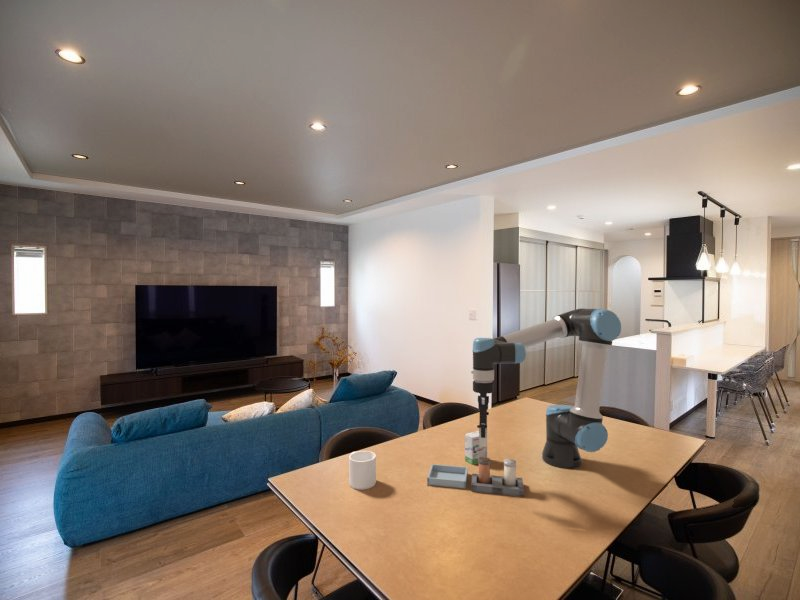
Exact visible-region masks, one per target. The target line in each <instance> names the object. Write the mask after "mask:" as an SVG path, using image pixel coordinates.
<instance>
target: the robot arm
mask: <svg viewBox="0 0 800 600" xmlns="http://www.w3.org/2000/svg"><path fill="white" fill-rule="evenodd" d="M621 333H622V323H621V320H620V317H618V316H617V314H616V313H615V312H614V311H612V310H609V309H605V308H576V309H573V310H570V311H566V312H563V313H560V314H558V315H555V316H553V317H552V319H550V320H547V321H545V322H542V323H541V322H540V323H538V324H535V325H532V326H527V327H525V328H522V329H519V330H516V331H513V332H510V333H507V334H503V335H500V336H497V337H494V338H492V337H476V338H474V339H473V342H472V371H471V372H470V373H471V374H472V379H473V381H472V392H474V393H475V394H476V393H477V394H479V395H477V403H478V404H477V405H478V409H477V410H479V423H478V425H476V428H478V431H479V446H483V447H487V448H488V416H489V414H490V413H489V411H488V410H489V403H490V396H489V395H487V394H492V393H494V392H495V382H494V381H495V365H499V364H501V365H504V364H505V365H506V364H508V365H509V364H514V365H515V364H521V363H523V362H524V361H525V360H526V357H527V356H526V355H527V353H526V352H527V351H526V348H529V347H533V346H536V345H538V344H541V343H544V342H549V341H551V340H554V339H557V338H560V339H565V338H568V337H578V342H579V344H580V345H581V353H580V354H581V355H580V361H579V370H578V377H577V385H576V392H575V393H576V394H575V400H574V405H569V404H552V405H548V406H547V407H546V412H545V417H546V418H545V419H546V420H545V422H546V423H545V424H546V427H545V428H546V429H545V430H546V433H545V434H546V435H545V437H546V439H545V440H546V441H545V443H544V446H543V450H542V454H541V458H542V461H543V462H544V463H546V464H548V465H550V466H554V467H558V468H563V469H574V468H578V467H580V466H581V465H582V457H581V454H580V451H579V450H582V451H585V452H588V453H596V452H597V451H600V450H601V449H603V447H605V445H606V444H607V441H608V438H609V437H608V436H609V432H608V430H607V428H606V426H605V425H603V418H604V417H603V415H602V414H601V413H600V408H601V407H600V405H601V397H602V392H603V390H602V389H603V384H604V383H603V382H604V375H605V374H604V373H605V366H606V359H607V350H608V349H610V348H611V347H612V346H613V341H615V340H616V339H617V338H618V337H619V336H620V335H621Z"/></svg>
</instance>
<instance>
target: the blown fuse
mask: <svg viewBox="0 0 800 600" xmlns="http://www.w3.org/2000/svg"><path fill="white" fill-rule="evenodd" d="M477 464H478V474H479V483H481V484H490V475H491V458H489V457H488V456H487V457H479V458H478V463H477Z"/></svg>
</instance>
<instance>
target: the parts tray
mask: <svg viewBox="0 0 800 600" xmlns="http://www.w3.org/2000/svg"><path fill="white" fill-rule="evenodd" d="M468 470H469V469H468V466H460V465H459V466H457V465H446V464H436V463H432V464H431V466H430V469H429V471H428V475H427V478H426V480H427V482H426V484H427V487H429V486H431V487H432V486H433V487H434V486H435V487H442V488H453V489H463V490H466V489H467V480H468Z"/></svg>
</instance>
